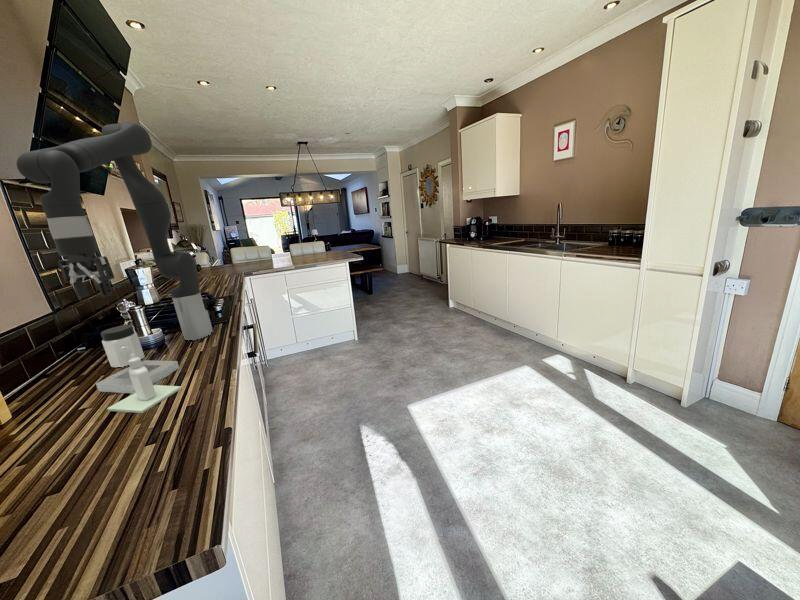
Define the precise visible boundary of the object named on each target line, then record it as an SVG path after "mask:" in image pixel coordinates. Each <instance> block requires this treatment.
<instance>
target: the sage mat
mask: <svg viewBox="0 0 800 600" xmlns="http://www.w3.org/2000/svg"><path fill="white" fill-rule="evenodd" d="M153 387H154V389H155V392H156V396H155V397H153V398H151V399H149V400H145V401H144V400H139V399H138V398H137V395H136V393H131V395H128V396H127V397H125V398H124V399H121V400H119V401H118V402H116V403H114V404H112V405H111V406H109V407H107V408H106V410H107V412H108V411H110V412H121V413H134V414H136V413H137V414H144V413H145V412H147V411H149V410H150V409H152V408H153V407H155V406H156V405H157V404H159V403H161V402H162V401H164V400H166V399H167V398H169V397H170V396H172V395H174V394H175V393H177V392H178V391H180V390H181V389H182V386H180V385H179V386H178V385H158V384H153Z"/></svg>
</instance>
